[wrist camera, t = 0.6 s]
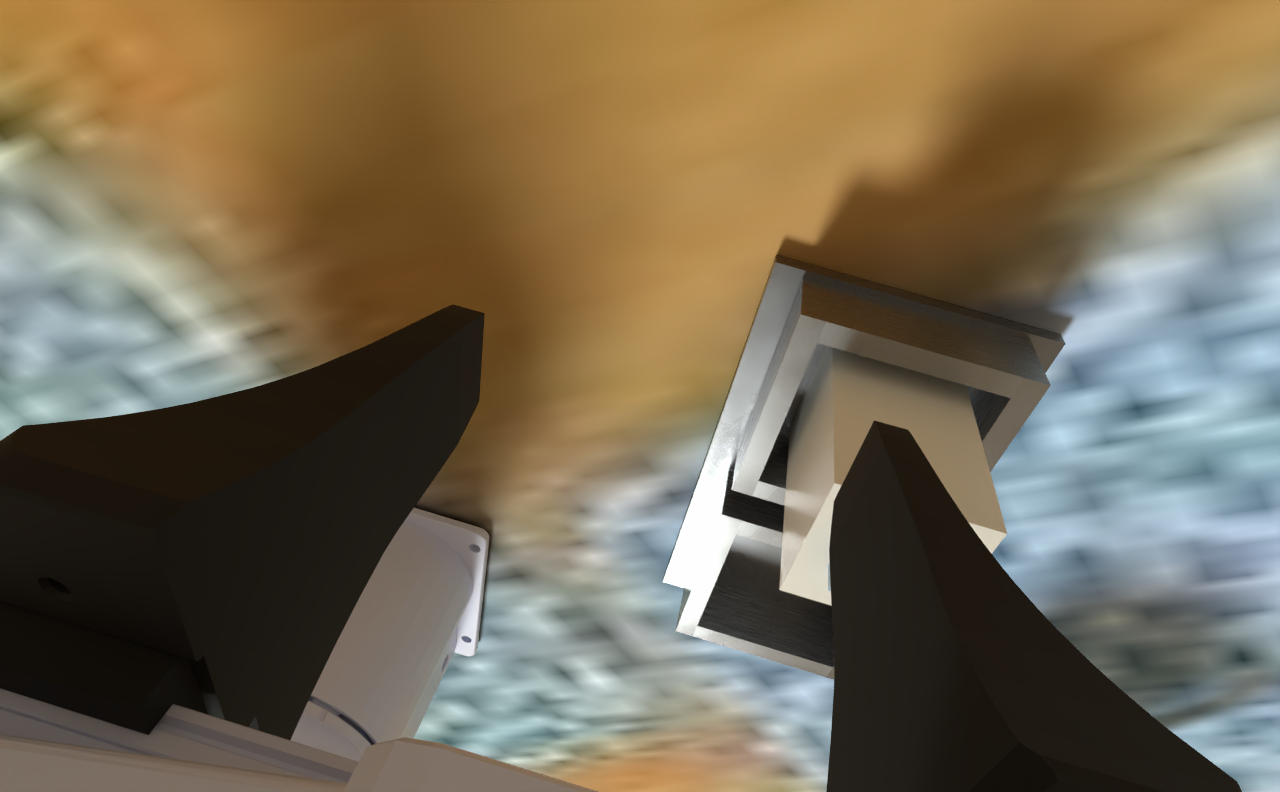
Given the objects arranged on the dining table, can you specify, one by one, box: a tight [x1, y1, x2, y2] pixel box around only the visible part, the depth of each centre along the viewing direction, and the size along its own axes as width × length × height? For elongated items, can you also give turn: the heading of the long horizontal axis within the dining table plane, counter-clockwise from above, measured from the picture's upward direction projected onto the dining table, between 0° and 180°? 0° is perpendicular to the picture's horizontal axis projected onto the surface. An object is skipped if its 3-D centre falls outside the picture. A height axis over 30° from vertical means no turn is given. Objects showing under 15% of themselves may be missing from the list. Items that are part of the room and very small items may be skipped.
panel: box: [663, 255, 1065, 679], centre depth 25 cm, size 15×9×3 cm, turn 169°
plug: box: [779, 345, 1007, 606], centre depth 20 cm, size 4×4×8 cm
